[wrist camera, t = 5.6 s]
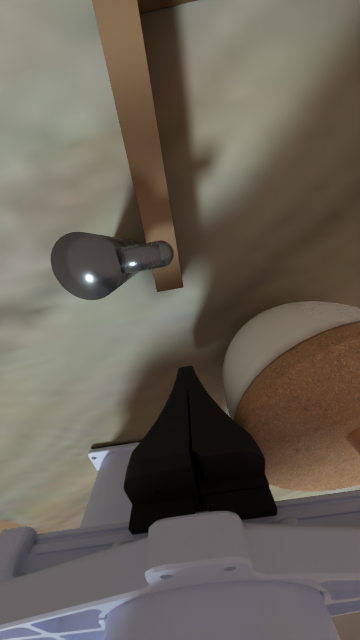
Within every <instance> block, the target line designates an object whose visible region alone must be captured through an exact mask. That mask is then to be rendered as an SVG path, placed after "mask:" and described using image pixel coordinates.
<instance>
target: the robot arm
mask: <svg viewBox="0 0 360 640" xmlns="http://www.w3.org/2000/svg"><path fill="white" fill-rule="evenodd" d="M88 456H89V458H90V459H91V461H92V462H93V464H94V466H95V467H96V469H97V470H98V474H97V477H96V481H95V484H94V487H93V490H92V493H91V496H90V499H89V502H88V505H87V508H86V511H85V514H84V517H83V520H82V523H81V526H80V528H77V529H70V530H62V531H55V532H48V533H40V534H37V532H36V531H35V530H34V529H33V528H31V527H18V528H12V529H4V530H3V531H2V532H1V533H0V640H340V637H339V635H338V633H337V630H336V628H335V625H334V623H333V621H332V619H331V617H333V616H339V615H344V614H350V613H355V612H360V490H355V491H348V492H341V493H333V494H326V495H319V496H311V497H304V498H297V499H289V500H282V501H274V499H273V496H272V494H271V491H270V489H269V482H268V480H267V477H266V475H265V463H266V462H265V457H264V455H263V453H262V451H261V449H260V448H259V446H258V444H257V443H256V441H255V440H254V438H253V437H252V435H251V434H250V433H249V432H247V431H246V430H245V429H243V428H242V427H241V426H240V425H238V424H237V423H236V422H235V421H234V420H233V419H231V418H230V417H229V416H228V415H227V414H226V413H225V412H224V411H223V410H222V409H221V408H220V407H219V406H218V405H217V404H216V403H215V401H214V400H213V399H212V398H211V397H210V395H209V394H208V393H207V391H206V390H205V389H204V387H203V386H202V384H201V383H200V381H199V379H198V377H197V376H196V374H195V371H194V369H193V367H192V366H187V367H181V368H179V369H178V374H177V378H176V381H175V384H174V387H173V389H172V392H171V394H170V396H169V399H168V401H167V403H166V405H165V407H164V409H163V410H162V412H161V414H160V416H159V417H158V419H157V420H156V422H155V423H154V425H153V426H152V428H151V429H150V430H149V432H148V433H147V434H146V436H145V437H144V438H143V439H142V441H141V442H137V443H131V444H124V445H117V446H111V447H104V448H97V449H91V450H90V451H89V453H88Z"/></svg>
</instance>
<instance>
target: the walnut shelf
mask: <svg viewBox="0 0 360 640" xmlns="http://www.w3.org/2000/svg"><path fill="white" fill-rule="evenodd" d="M192 1H196V0H92V2H93V7H94V11H95V16H96V20H97V25H98V29H99V33H100V38H101V42H102V47H103V51H104V56H105V60H106V65H107V69H108V74H109V78H110V83H111V87H112V91H113V96H114V100H115V105H116V109H117V114H118V118H119V123H120V127H121V132H122V136H123V141H124V145H125V149H126V154H127V158H128V163H129V167H130V172H131V176H132V181H133V185H134V190H135V194H136V199H137V203H138V207H139V212H140V216H141V221H142V225H143V230H144V234H145V239H146V243H148V242H154V241H160V240H162V241H166V242H168V243H169V244H170V245H171V246H172V248H173V251H174V258H173V260H172V262H171V263H170V264H169V265H168V266H165V267H161V268H155V269H152V270H153V274H154V279H155V283H156V288H157V292H160V291H165V290H171V289H177V288H182V287H183V282H182V276H181V270H180V264H179V257H178V251H177V245H176V239H175V233H174V226H173V220H172V214H171V208H170V201H169V195H168V189H167V183H166V177H165V170H164V164H163V158H162V152H161V146H160V139H159V133H158V127H157V121H156V115H155V108H154V102H153V96H152V90H151V83H150V77H149V71H148V65H147V59H146V52H145V46H144V40H143V34H142V28H141V21H140V15H139V13H143V12H147V11H152V10H156V9H161V8H165V7H169V6H174V5H178V4H183V3H187V2H192Z"/></svg>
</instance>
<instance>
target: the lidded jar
mask: <svg viewBox="0 0 360 640" xmlns="http://www.w3.org/2000/svg"><path fill="white" fill-rule="evenodd" d="M223 388H224V393H225V399H226V404H227V409H228V412H229V416H230V418H231V419H233V420H234V421H235V422H236V423H237V424H238V425H240V426H241V427H242V428H243V429H245V430H246V431H247V432H249V433H250V434H251V435H252V437H253V438H254V440H255V441H256V443H257V444H258V446H259V448H260V449H261V451H262V453H263V455H264V457H265V462H266V463H265V475H266V477H267V480H268V482H269V484H270V485H273V486H276V487H279V488H284V489H289V490H297V491H326V490H336V489H341V488H346V487H351V486H355V485H359V484H360V308H359V307H355V306H350V305H345V304H339V303H331V302H319V301H304V302H293V303H287V304H283V305H278V306H276V307H273V308H270V309H268V310H265V311H263V312H262V313H260V314H258V315H256V316H255V317H253V318H252V319H250V320H249V321H248V322H247V323H245V324H244V325H243V326H242V327H241V328H240V330H239V331H238V332H237V333H236V334H235V336H234V338H233V339H232V341H231V343H230V344H229V347H228V349H227V352H226V355H225V359H224V364H223Z"/></svg>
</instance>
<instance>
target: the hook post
mask: <svg viewBox="0 0 360 640" xmlns="http://www.w3.org/2000/svg"><path fill="white" fill-rule="evenodd" d="M173 258H174V251H173V248H172V246H171V245H170V244H169V243H168V242H166V241H162V240H160V241H154V242H148V243H143V244H136V243H135V242H133V241H131V240H128V239H123V238H116V237H110V236H103V235H97V234H90V233H84V232H72V233H69V234H66V235H64V236H62V237H61V238H60V239H59V240H58V241H57V242H56V243H55V245H54V247H53V249H52V253H51V265H52V269H53V272H54V275H55V277H56V278H57V280H58V281H59V283H60V284H61V285H62V286H63V287H64V288H65V289H66V290H67V291H68V292H70V293H71V294H73V295H75V296H77V297H79V298H82V299H87V300H97V299H101V298H104V297H106V296H107V295H109V294H110V293H111V292H113V291H114V290H115V289H117V288H118V287H119V286H121V285H122V284H123V283H125V282H126V281H127V280H129V279H130V278H131V277H133V276H134V275H135V274H137V273H138V272H139V271H144V270H150V269H155V268H161V267H165V266H168V265H169V264H170V263H171V262H172V260H173Z"/></svg>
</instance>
